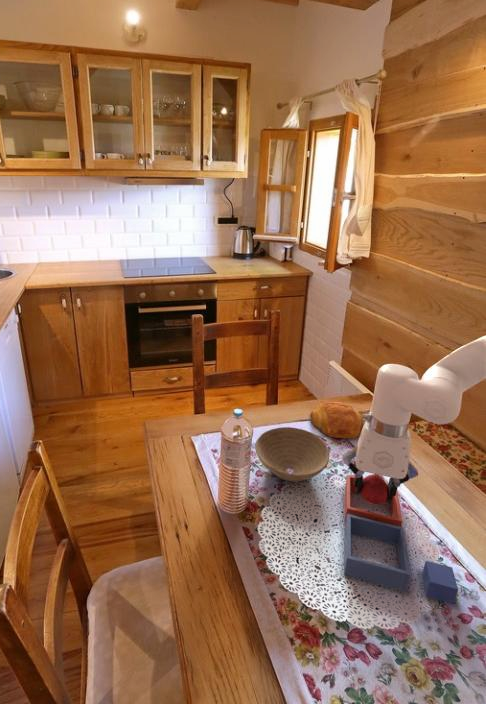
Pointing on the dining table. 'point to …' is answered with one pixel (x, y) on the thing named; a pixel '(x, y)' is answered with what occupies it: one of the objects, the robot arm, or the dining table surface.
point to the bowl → (292, 453)
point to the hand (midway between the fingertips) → (373, 492)
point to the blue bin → (371, 569)
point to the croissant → (337, 419)
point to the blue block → (439, 582)
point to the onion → (374, 489)
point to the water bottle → (235, 463)
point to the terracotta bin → (393, 520)
